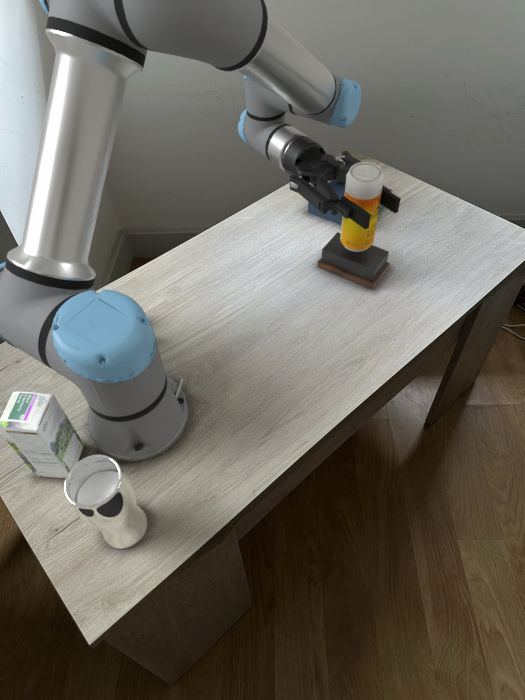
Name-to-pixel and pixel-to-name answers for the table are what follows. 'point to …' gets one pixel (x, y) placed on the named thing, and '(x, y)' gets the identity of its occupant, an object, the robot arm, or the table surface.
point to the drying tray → (340, 191)
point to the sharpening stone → (354, 263)
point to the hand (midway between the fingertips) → (382, 213)
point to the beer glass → (106, 500)
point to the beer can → (362, 204)
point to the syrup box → (41, 434)
